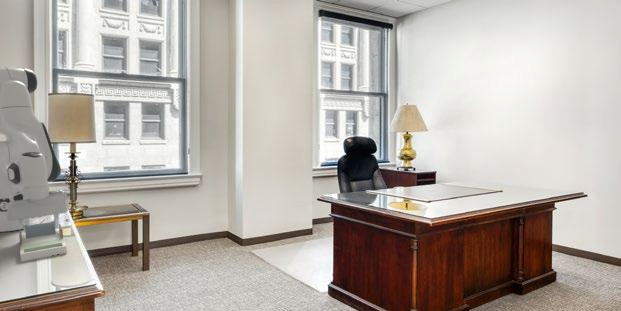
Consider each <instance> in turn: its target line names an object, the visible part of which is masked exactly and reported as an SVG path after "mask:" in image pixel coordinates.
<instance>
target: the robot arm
mask: <svg viewBox="0 0 621 311" xmlns="http://www.w3.org/2000/svg"><path fill="white" fill-rule="evenodd" d="M37 89H38V78H37V75H36V73H35V71H33V70H31V69H29V68H17V67H11V66H8V67H7V66H5V67H1V66H0V134H1V135H4V136H5V138H6V139H5V140H0V232H3V233H4V232H11V231H20V230H23V231H25V226H29V225H36V224H42V223H44V221H45V216H54V219H53V220H51V221H50V222H54V223H55V226H56V225H57V224H56V222H57V220H58V218H59V215H60V214H66V213H67V212H68V210H69V209H68V204H67V200H68V194H67V192H66V191H64V190H55V191H50V185H49V183H54V182H55V181H56V180H57V179H58V178H59V177H60V176H61V174H62V168H61V164H60V162H59V160H58V158H57V156H56V154H55V150H54V148H53V145H52V142H51V138H50V136H49V133H48V129H47V127H46V126H45V123H44V122H43V121H42V120H39V119H38V117H37V116H36V115H35V113H34V109H33V108H34V107H33V104H32V99H31V95H30V94H32V93H34V92H35V91H36V90H37ZM27 135H29V136H31V137H33V139H34V140H35V141H34V140H33V139H31V138H30V137H29V136H27Z"/></svg>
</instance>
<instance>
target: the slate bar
mask: <svg viewBox="0 0 621 311" xmlns="http://www.w3.org/2000/svg"><path fill="white" fill-rule="evenodd" d="M55 229H56V225H55V223H54V222H51V221H50V222H42V223H40V224H36V225H29V226H25V230H24V232H25V234H26V239H27V238H33V237H39V236H45V235H51V234H56V231H55Z"/></svg>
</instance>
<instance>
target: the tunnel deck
mask: <svg viewBox="0 0 621 311" xmlns="http://www.w3.org/2000/svg"><path fill="white" fill-rule="evenodd" d="M18 231H19V233H18V234H19V235H18V236H19V245H20V248H19V249H20V251H19V252H20V254H19V255H20V262H26V261H32V260H38V259H43V258H48V257H49V258H50V257H53V256H52V255H54V256H58V255H57V254H59V255H63V254H67V253H68V248H67V244H66V241H65V239H64V234H63V233H64V232H63V228H62V225H61V224H60V223H59V224H58V228H55V231H56V234H51V235H45V236H39V237H33V238H27V239H26V233H22V229H19V230H18Z"/></svg>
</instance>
